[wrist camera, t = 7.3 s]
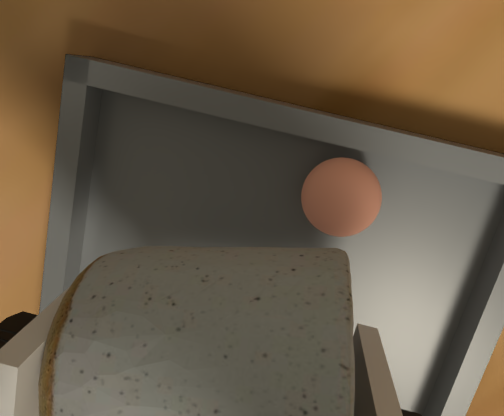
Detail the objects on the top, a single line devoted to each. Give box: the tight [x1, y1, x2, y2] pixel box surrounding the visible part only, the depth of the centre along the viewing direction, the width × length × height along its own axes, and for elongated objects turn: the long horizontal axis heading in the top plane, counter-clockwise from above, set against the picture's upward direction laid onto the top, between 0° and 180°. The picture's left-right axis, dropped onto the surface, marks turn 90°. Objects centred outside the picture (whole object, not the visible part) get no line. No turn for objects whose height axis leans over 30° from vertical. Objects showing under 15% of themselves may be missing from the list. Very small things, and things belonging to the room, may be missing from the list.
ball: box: [301, 157, 382, 237], centre depth 19 cm, size 3×3×3 cm
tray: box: [39, 54, 504, 416], centre depth 22 cm, size 20×16×2 cm
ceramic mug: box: [38, 246, 355, 416], centre depth 15 cm, size 11×8×8 cm
